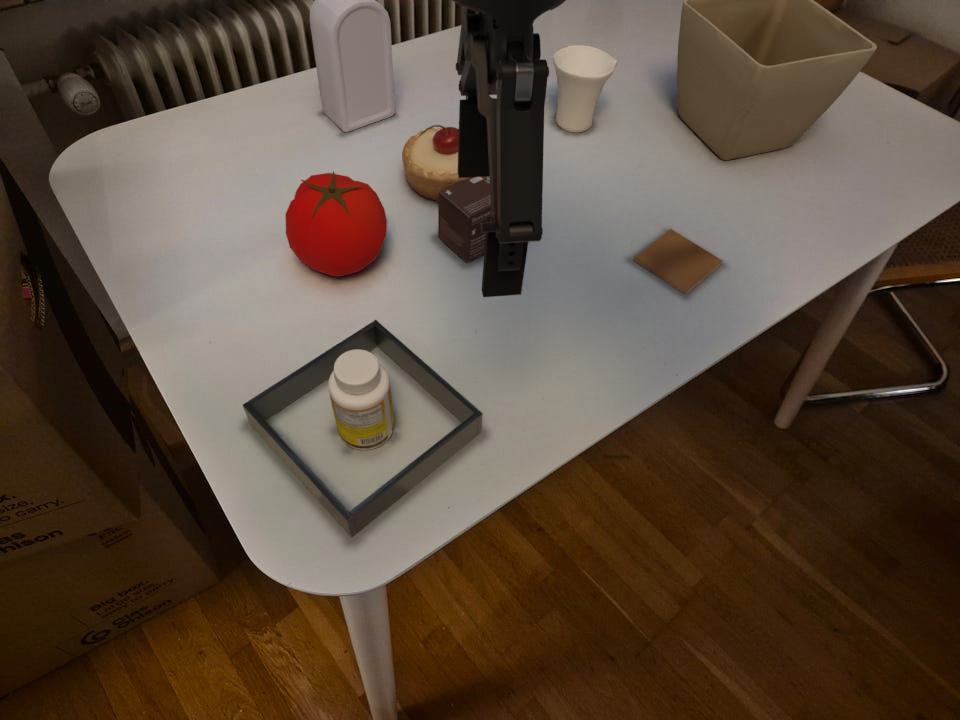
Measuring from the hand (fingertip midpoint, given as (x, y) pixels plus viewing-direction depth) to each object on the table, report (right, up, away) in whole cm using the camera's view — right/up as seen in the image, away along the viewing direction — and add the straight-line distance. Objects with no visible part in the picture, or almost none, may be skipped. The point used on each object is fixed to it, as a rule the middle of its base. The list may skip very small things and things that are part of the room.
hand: (486, 228), depth 51 cm
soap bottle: (-19, +27, +49) cm, 59 cm away
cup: (+14, +26, +51) cm, 59 cm away
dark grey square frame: (-12, -17, +15) cm, 26 cm away
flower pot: (+39, +25, +52) cm, 69 cm away
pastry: (-5, +14, +41) cm, 43 cm away
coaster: (+24, +2, +33) cm, 41 cm away
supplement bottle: (-12, -17, +15) cm, 26 cm away
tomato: (-17, +2, +30) cm, 35 cm away
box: (-2, +5, +33) cm, 34 cm away
